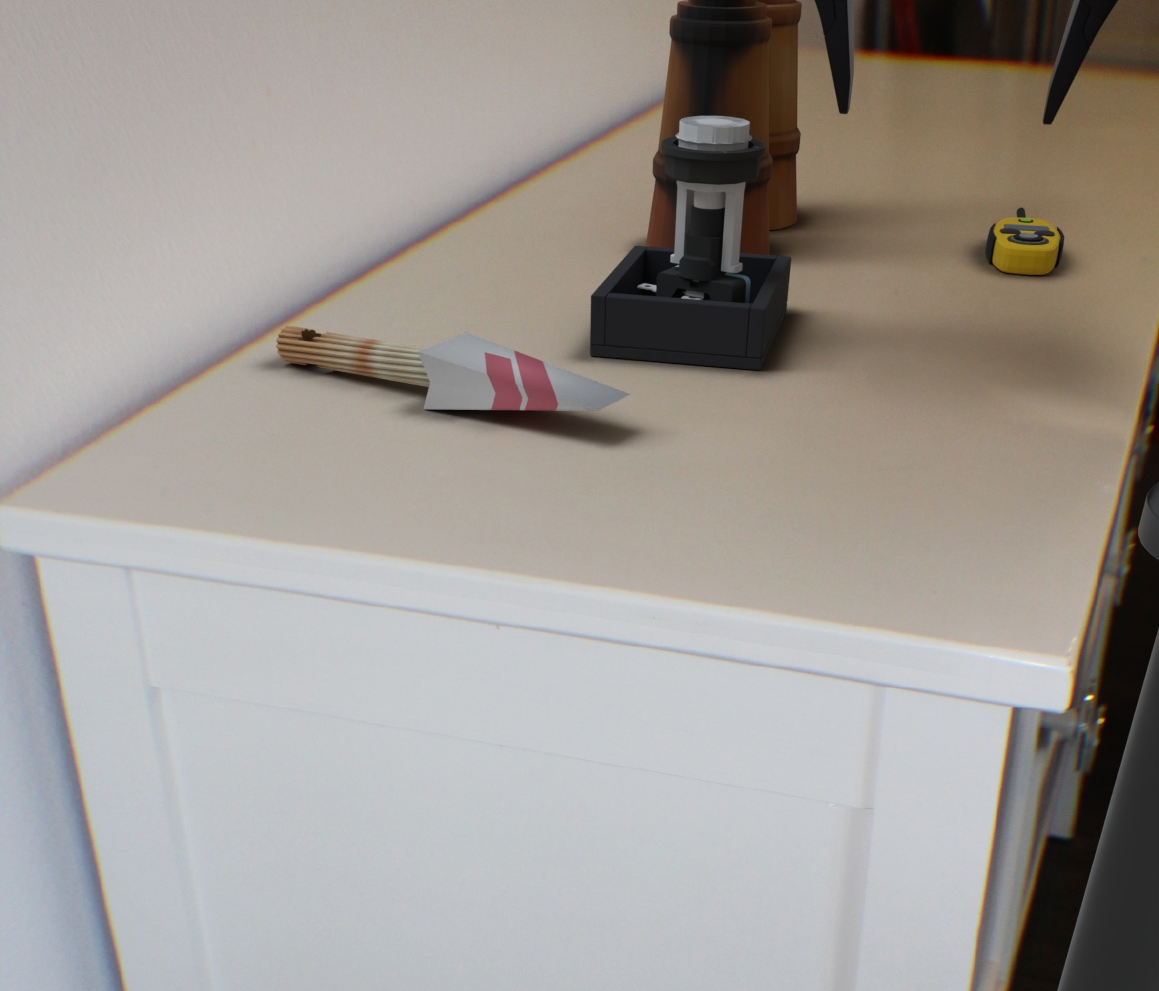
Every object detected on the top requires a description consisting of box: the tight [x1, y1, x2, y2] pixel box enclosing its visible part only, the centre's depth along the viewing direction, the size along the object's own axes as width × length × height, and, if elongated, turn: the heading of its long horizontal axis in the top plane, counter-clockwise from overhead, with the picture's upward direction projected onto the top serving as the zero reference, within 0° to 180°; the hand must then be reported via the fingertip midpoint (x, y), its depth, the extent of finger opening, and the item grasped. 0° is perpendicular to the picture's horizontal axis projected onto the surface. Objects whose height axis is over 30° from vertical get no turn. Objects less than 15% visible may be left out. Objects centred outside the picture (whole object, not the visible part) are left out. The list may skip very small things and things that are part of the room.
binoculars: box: [645, 0, 803, 255], centre depth 92 cm, size 18×8×20 cm, turn 162°
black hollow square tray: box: [589, 245, 792, 371], centre depth 78 cm, size 9×11×3 cm
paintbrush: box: [275, 325, 631, 412], centre depth 69 cm, size 4×3×20 cm
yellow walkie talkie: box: [984, 207, 1065, 276], centre depth 95 cm, size 5×2×15 cm
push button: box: [637, 116, 766, 304], centre depth 76 cm, size 7×5×10 cm
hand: (944, 118), depth 66 cm, fingers open, 9 cm apart
